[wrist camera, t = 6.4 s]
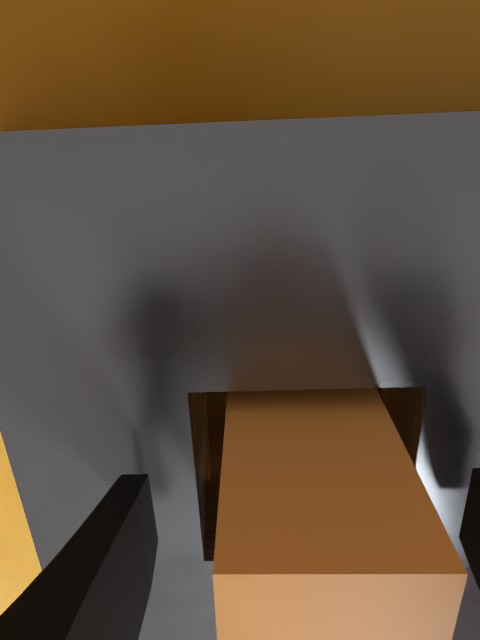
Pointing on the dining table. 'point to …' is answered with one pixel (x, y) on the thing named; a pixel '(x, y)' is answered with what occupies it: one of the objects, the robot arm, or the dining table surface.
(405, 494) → the peach rectangular block
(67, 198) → the gray block with hole
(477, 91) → the dining table surface
